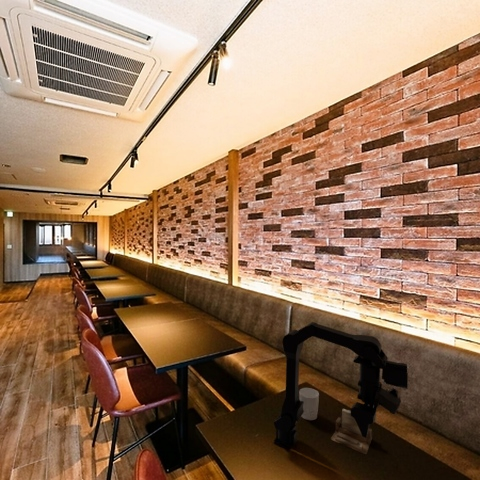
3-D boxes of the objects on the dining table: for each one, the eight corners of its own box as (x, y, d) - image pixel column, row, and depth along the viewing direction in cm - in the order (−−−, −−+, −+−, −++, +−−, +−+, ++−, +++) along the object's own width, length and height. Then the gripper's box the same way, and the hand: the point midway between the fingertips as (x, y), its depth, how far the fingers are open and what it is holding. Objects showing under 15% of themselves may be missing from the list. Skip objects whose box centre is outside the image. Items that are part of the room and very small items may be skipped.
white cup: (304, 409, 123) (304, 385, 123) (321, 416, 118) (322, 392, 118) (295, 417, 117) (295, 393, 117) (313, 425, 112) (313, 400, 112)
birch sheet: (341, 431, 108) (342, 410, 108) (342, 429, 109) (343, 408, 109) (364, 440, 103) (364, 418, 103) (365, 438, 104) (365, 416, 104)
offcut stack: (334, 440, 103) (335, 435, 103) (337, 436, 105) (337, 431, 105) (361, 452, 97) (361, 446, 97) (363, 447, 99) (363, 441, 99)
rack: (330, 441, 103) (330, 429, 103) (338, 427, 111) (339, 416, 111) (366, 456, 96) (366, 443, 96) (372, 440, 104) (372, 428, 104)
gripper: (393, 401, 77) (392, 459, 77) (403, 375, 92) (401, 424, 92) (350, 387, 83) (349, 441, 83) (366, 366, 98) (364, 411, 98)
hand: (368, 429), depth 89 cm, fingers open, 9 cm apart
